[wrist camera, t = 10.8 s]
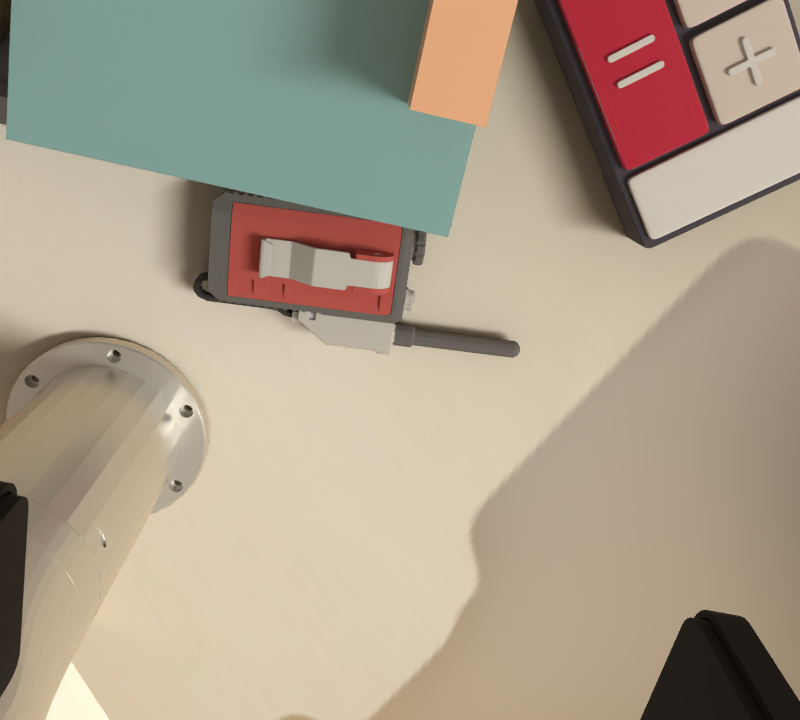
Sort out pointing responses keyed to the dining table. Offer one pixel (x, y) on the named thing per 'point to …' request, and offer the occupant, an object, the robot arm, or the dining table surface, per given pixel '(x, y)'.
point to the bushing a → (5, 18)
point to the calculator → (682, 103)
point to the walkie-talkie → (323, 273)
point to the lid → (267, 94)
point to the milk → (74, 700)
